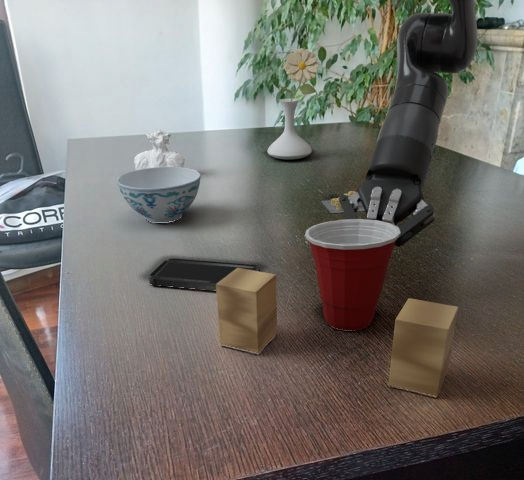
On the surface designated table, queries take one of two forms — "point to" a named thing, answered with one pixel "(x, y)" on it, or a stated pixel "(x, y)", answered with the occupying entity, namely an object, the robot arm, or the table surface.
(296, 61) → the flower in vase
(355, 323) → the plastic cup
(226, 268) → the phone
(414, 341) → the maple block
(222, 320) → the maple block
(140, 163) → the bust
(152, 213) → the chinaware
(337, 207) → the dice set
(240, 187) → the table surface
